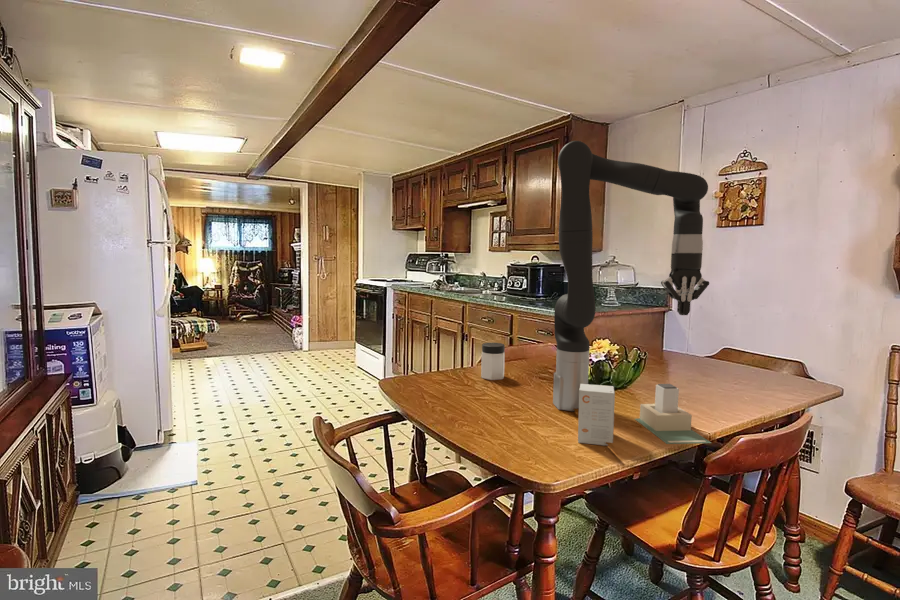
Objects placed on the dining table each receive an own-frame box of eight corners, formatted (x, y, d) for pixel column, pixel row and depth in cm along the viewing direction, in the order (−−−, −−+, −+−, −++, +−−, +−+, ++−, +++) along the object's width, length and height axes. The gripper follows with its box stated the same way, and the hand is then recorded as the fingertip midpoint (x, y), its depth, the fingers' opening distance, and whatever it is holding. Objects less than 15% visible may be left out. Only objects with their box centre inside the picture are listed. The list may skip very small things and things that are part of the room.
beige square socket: (656, 430, 120) (656, 415, 120) (638, 417, 130) (639, 403, 130) (690, 430, 121) (691, 414, 121) (670, 417, 131) (671, 402, 130)
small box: (612, 437, 119) (614, 385, 118) (613, 447, 113) (615, 393, 111) (578, 433, 121) (580, 382, 120) (577, 443, 115) (579, 389, 114)
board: (666, 447, 113) (666, 443, 112) (634, 422, 129) (634, 418, 129) (711, 447, 113) (711, 442, 113) (673, 421, 130) (673, 417, 130)
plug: (661, 427, 123) (663, 387, 122) (652, 420, 128) (654, 382, 127) (676, 426, 123) (678, 387, 122) (667, 420, 128) (669, 382, 127)
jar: (509, 377, 175) (510, 344, 173) (496, 381, 169) (496, 347, 167) (489, 372, 181) (490, 341, 179) (476, 377, 174) (476, 344, 173)
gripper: (702, 251, 135) (698, 313, 136) (656, 251, 134) (653, 313, 136) (718, 251, 127) (714, 316, 129) (670, 251, 126) (666, 316, 128)
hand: (683, 314), depth 132 cm, fingers closed
